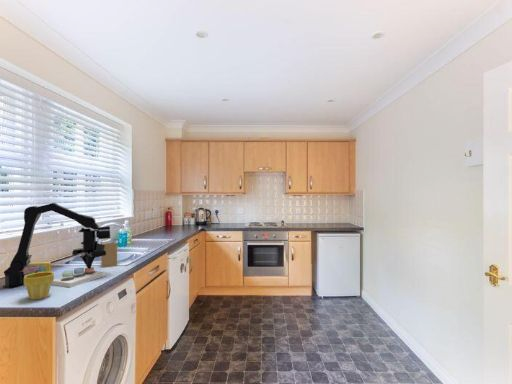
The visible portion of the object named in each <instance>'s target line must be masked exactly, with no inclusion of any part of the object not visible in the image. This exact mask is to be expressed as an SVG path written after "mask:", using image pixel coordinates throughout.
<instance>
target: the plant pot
mask: <svg viewBox="0 0 512 384" xmlns="http://www.w3.org/2000/svg"><path fill="white" fill-rule="evenodd" d="M54 279H55V273H54V272H53V271H51V272H39V273H33V274H29V275H26V276H25V277H24V285H23V286H25V288H26V291H27V297H28V298H29V300H32V301H33V300H34V301H35V300H40V299H44V298H47V297H49V293H50V290H51V283H52V281H53V280H54Z"/></svg>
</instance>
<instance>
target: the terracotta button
mask: <svg viewBox="0 0 512 384" xmlns="http://www.w3.org/2000/svg"><path fill="white" fill-rule="evenodd" d="M84 271H85V273H91V272H94V271H95V267H94V266H91V268H87V267H85V268H84Z"/></svg>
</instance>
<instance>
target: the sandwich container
mask: <svg viewBox="0 0 512 384" xmlns="http://www.w3.org/2000/svg"><path fill="white" fill-rule="evenodd" d="M101 244H102V245H105V247H104V250H105V251H106V255H104V256H100V260H101V261H100V265H101V268H111V267H117V266H118V242H105V243H101Z"/></svg>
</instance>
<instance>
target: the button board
mask: <svg viewBox="0 0 512 384" xmlns="http://www.w3.org/2000/svg"><path fill="white" fill-rule="evenodd" d="M105 276H106V272H105V271H99V270H94V272H91V273H85V270H84V272H83V273H80V274H74V273H73V276H70V277H62V276H60V277H57V278H54V280H53V281H52V283H51V285H53V286H58V287H64V288H72V287H76V286H78V285H82V284H84V283H87V282H89V281H94V280H96V278H97V279H99V277H100V278H103V277H105Z"/></svg>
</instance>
